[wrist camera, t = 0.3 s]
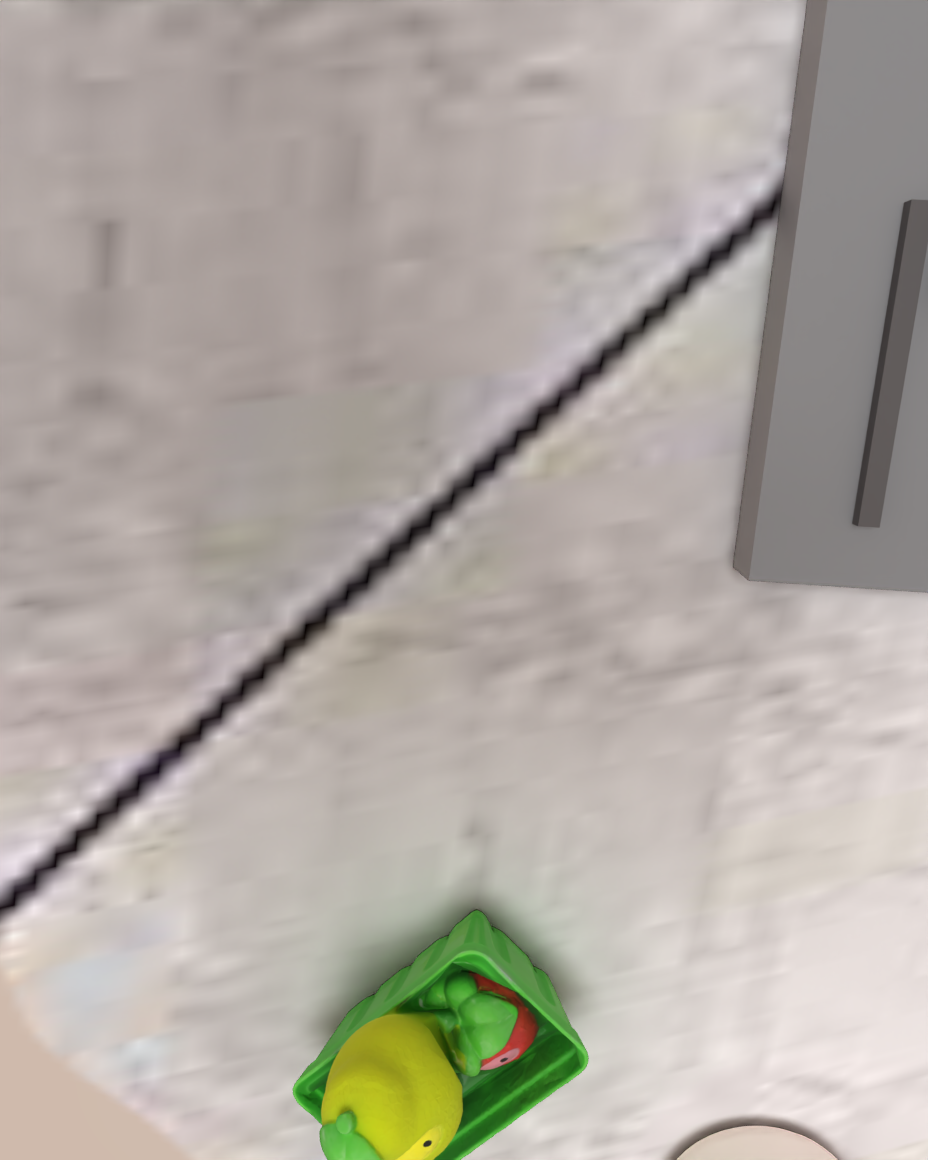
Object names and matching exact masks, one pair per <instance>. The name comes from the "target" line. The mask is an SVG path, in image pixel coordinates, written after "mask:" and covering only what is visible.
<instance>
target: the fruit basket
mask: <svg viewBox="0 0 928 1160" xmlns="http://www.w3.org/2000/svg"><path fill="white" fill-rule="evenodd" d="M587 1064H588V1053H587V1051H586V1049H585V1047H584V1045H583V1043H582V1041H581V1039H580V1038H579V1036H578V1034H577V1032H576V1031H575V1030H574V1029H573V1028H572V1027H571V1025H570V1022H569V1020H568V1018H567V1016H566V1014H565V1011H564V1009H563V1007H562V1005H561V1003H560V1001H559V998H558V996H557V994H556V992H555V990H554V988H553V985H552V983H551V981H550V979H549V977H548V975H546V974H545V973H544V972H543V971H542V970H540V969H538V968H536V967H533V965H532V963H531V962H530V960H529V958H528V956H527V955H526V954H525V953H523V952H522V951H521V950H520V949H519V948H518V947H517V946H516V945H515V944H514V943H513V942H512V941H511V940H510V939H509V938H508V937H507V936H506V935H505V934H504V933H503V932H501V931H500V930H498V929H496V928H494V927H491V925H490V923H489V921H488V920H487V918H486V916H485V915H484V914H483V913H482V912H480V911H479V910H476V911H473V912H471V913H470V914H469V915H468V916H467V917H465V918H464V919H463V920H462V921H460V922H459V923H458V924H457V925H456V926H455V927H454V928H453V930H452V931H451V932H450V934H449V936H445V937H443V938H441V939H439V940H437V941H436V942H434V943H433V944H432V945H431V946H430V947H428V948H427V949H426V950H425V951H423V952H422V953H421V954H420V955H419V956H418V957H417V958H416V960H415V961H414V963H413V964H412V966H411V965H410V966H408V967H406V968H403V969H401V970H400V971H399V972H397V973H396V974H395V975H394V976H392V977H391V978H390V979H389V980H387V981H386V982H385V983H384V984H382V986H381V987H380V988H379V990H378V991H377V993H376V994H375V995H372V996H370V997H367V998H365V999H364V1000H363V1001H361V1002H360V1003H359V1004H358V1005H356V1006H355V1007H354V1008H353V1009H352V1010H350V1011H349V1012H348V1014H347V1015H346V1017H345V1018H344V1019H343V1021H342V1022H341V1024H340V1025H339V1026H338V1028H337V1029H336V1031H335V1032H334V1034H333V1035H332V1037H331V1038H330V1040H329V1041H328V1043H327V1044H326V1046H325V1047H324V1048H323V1050H322V1051H321V1053H320V1054H319V1056H318V1057H317V1059H316V1060H315V1061H314V1062H313V1063H311V1064H310V1065H309V1066H308V1067H307V1068H306V1070H305V1071H304V1072H303V1074H302V1075H301V1076H300V1078H299V1079H298V1080H297V1082H296V1083H295V1085H294V1087H293V1095H294V1097H295V1099H296V1101H297V1102H298V1103H299V1105H301V1106H302V1107H303V1108H304V1109H305V1110H306V1111H307V1112H309V1113H310V1114H311V1115H313V1116H314V1117H315V1119H317V1120H318V1122H319V1123H321V1124H322V1128H321V1129H320V1143H321V1147H322V1150H323V1152H324V1154H325V1156H326V1158H327V1160H461V1159H462V1158H463V1157H465V1156H466V1155H468V1154H469V1153H471V1152H472V1151H473V1150H475V1149H476V1148H477V1147H479V1146H480V1145H482V1144H483V1143H484V1142H486V1141H487V1140H489V1139H490V1138H491V1137H493V1136H494V1135H495V1134H496V1133H498V1132H499V1131H501V1130H503V1129H504V1128H506V1127H507V1126H508V1125H510V1124H511V1123H512V1122H513V1121H515V1120H516V1119H517V1118H519V1117H520V1116H521V1115H523V1114H525V1113H526V1112H527V1111H529V1110H530V1109H531V1108H533V1107H534V1106H535V1105H536V1104H538V1103H539V1102H541V1101H542V1100H544V1099H545V1098H547V1097H548V1096H550V1095H551V1094H552V1093H553V1092H555V1091H556V1090H557V1089H559V1088H560V1087H562V1086H563V1085H565V1084H566V1083H568V1082H569V1081H571V1080H572V1079H573V1078H575V1077H576V1076H577V1075H579V1074H580V1073H581V1072H582V1071H583V1070H584V1069H585V1068H586V1066H587Z"/></svg>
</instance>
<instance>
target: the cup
mask: <svg viewBox="0 0 928 1160" xmlns="http://www.w3.org/2000/svg"><path fill="white" fill-rule="evenodd" d="M677 1160H838V1159H837V1158H836V1157H835V1156H834V1155H832V1154H831V1153H830V1152H829V1151H827V1150H826V1149H825V1148H824V1147H822V1146H821V1145H819V1144H818V1143H816V1142H814V1141H813V1140H811V1139H809V1138H807V1137H805V1136H803V1135H800V1134H797V1133H794V1132H791V1131H788V1130H785V1129H781V1128H776V1127H769V1126H742V1127H735V1128H731V1129H726V1130H722V1131H720V1132H717V1133H714V1134H712V1135H709V1136H707V1137H705V1138H703V1139H701V1140H700V1141H698V1142H696V1143H695V1144H693V1145H692V1146H691V1147H689V1148H688V1149H687V1150H686V1151H685V1152H684V1153H683V1154H682V1155H681V1156H680V1157H679V1158H678V1159H677Z"/></svg>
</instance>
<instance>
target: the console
mask: <svg viewBox="0 0 928 1160" xmlns="http://www.w3.org/2000/svg"><path fill="white" fill-rule="evenodd" d="M733 568H735V569H736V570H737V571H738V572H739V573H740V574H742V575H743V576H744V577H745V578H746V579H747V580H749V581H761V582H776V583H791V584H806V585H821V586H836V587H851V588H865V589H880V590H895V591H910V592H925V593H928V0H807V8H806V15H805V23H804V30H803V38H802V46H801V53H800V61H799V68H798V76H797V84H796V91H795V99H794V107H793V114H792V122H791V129H790V137H789V145H788V152H787V160H786V167H785V175H784V183H783V190H782V198H781V205H780V213H779V221H778V228H777V236H776V243H775V251H774V259H773V266H772V274H771V281H770V289H769V297H768V304H767V312H766V319H765V327H764V335H763V342H762V350H761V357H760V365H759V373H758V380H757V388H756V395H755V403H754V411H753V418H752V426H751V433H750V441H749V449H748V456H747V464H746V471H745V479H744V487H743V494H742V502H741V510H740V517H739V525H738V532H737V540H736V548H735V555H734V563H733Z"/></svg>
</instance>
